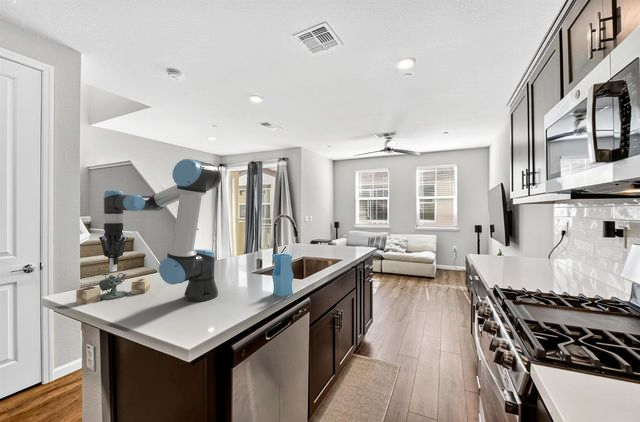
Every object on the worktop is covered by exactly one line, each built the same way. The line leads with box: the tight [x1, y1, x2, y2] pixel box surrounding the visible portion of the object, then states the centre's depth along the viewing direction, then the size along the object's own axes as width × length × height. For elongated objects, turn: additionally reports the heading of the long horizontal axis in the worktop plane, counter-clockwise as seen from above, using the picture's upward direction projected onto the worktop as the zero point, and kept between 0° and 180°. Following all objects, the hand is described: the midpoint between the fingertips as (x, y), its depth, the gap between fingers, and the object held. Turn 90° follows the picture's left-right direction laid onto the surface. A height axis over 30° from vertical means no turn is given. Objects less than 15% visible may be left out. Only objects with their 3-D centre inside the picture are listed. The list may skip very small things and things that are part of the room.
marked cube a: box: [130, 278, 151, 295], centre depth 140 cm, size 6×6×6 cm
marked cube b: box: [75, 285, 101, 305], centre depth 125 cm, size 6×6×6 cm
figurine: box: [98, 272, 128, 301], centre depth 132 cm, size 11×11×12 cm
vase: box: [271, 252, 295, 298], centre depth 140 cm, size 8×8×20 cm
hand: (113, 271), depth 132 cm, fingers closed
